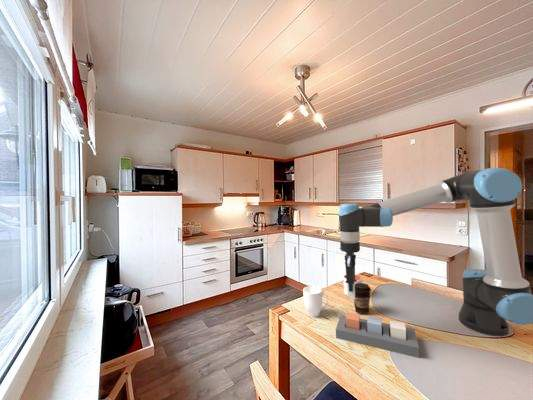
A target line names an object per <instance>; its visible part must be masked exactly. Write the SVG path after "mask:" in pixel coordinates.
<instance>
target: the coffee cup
mask: <svg viewBox="0 0 533 400" xmlns="http://www.w3.org/2000/svg"><path fill="white" fill-rule="evenodd" d="M371 290H372V289H371V287H370V285H369V284H367V283H363V282H362V283H356V284H355V299H353V300H354V301H353V302H354V303H353V304H354V307H355V312H356V314H359V315H369V314H370V302H371V301H370V298H371V296H370V295H371Z"/></svg>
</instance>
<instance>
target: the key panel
mask: <svg viewBox="0 0 533 400" xmlns="http://www.w3.org/2000/svg"><path fill="white" fill-rule="evenodd" d="M405 328H406V340H403V339H398V338H393V337H391V335H390V323H386V322H382V335H379V334H375V333H370V332H367V319H366V318H360V330H356V329H352V328H347V327H346V315H344V314H340V315H339V319H338V322H337V325H336V328H335V338H336V339H339V340H344V341H347V342H351V343H356V344H361V345H364V346H369V347H372V348H377V349H379V350H380V349H381V350H385V351H388V352H389V351H390V352H393V353H398V354H402V355H405V356H409V357H414V358H417V359H419V358H420V345H419V342H418V341H419V340H418V338H417V334H416V329H415V328H413V327H406V326H405Z"/></svg>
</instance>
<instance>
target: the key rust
mask: <svg viewBox="0 0 533 400" xmlns="http://www.w3.org/2000/svg"><path fill="white" fill-rule="evenodd" d="M345 316H346V327H347V328H352V329H356V330H360V319H361V314H359V313H353V312H348V311H347V313H346V315H345Z"/></svg>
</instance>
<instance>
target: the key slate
mask: <svg viewBox="0 0 533 400" xmlns="http://www.w3.org/2000/svg"><path fill="white" fill-rule="evenodd" d="M366 320H367V332H370V333H375V334H379V335H382V323H383V322H382V318H380V317H375V316H370V315H367V319H366Z"/></svg>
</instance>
